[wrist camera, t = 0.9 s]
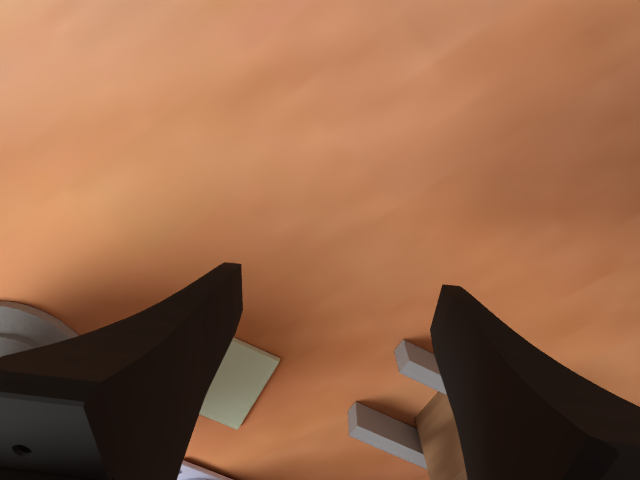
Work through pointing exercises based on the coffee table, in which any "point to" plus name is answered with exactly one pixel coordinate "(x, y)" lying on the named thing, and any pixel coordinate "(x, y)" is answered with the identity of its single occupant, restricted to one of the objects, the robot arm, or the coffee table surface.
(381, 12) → the coffee table surface
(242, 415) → the pad
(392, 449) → the channel
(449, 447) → the block
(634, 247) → the coffee table surface
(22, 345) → the mate gourd
